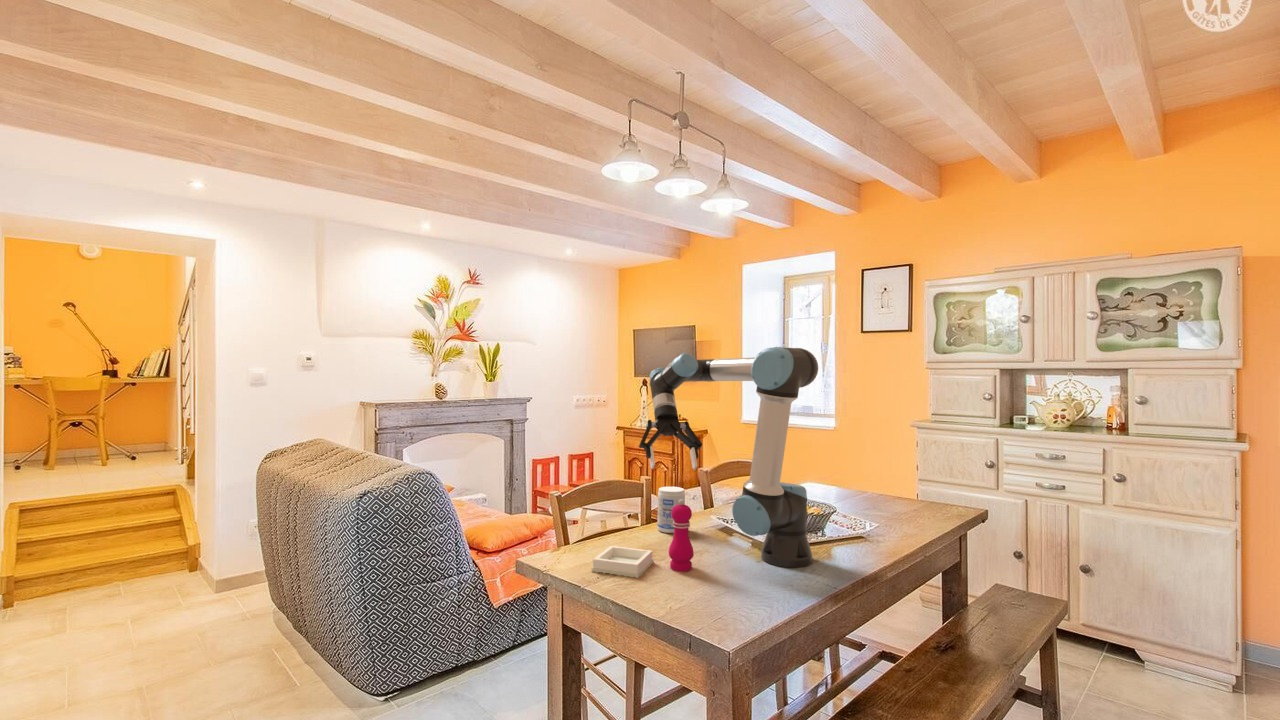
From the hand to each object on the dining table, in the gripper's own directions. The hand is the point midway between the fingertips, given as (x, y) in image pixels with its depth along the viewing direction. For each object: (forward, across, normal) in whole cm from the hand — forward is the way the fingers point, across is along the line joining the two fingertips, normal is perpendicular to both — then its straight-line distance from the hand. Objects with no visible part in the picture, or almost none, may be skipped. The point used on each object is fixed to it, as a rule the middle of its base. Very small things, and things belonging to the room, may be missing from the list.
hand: (674, 467), depth 185 cm
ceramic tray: (+26, +16, -13) cm, 33 cm away
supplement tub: (+3, -9, -39) cm, 40 cm away
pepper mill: (+28, -1, -9) cm, 29 cm away
